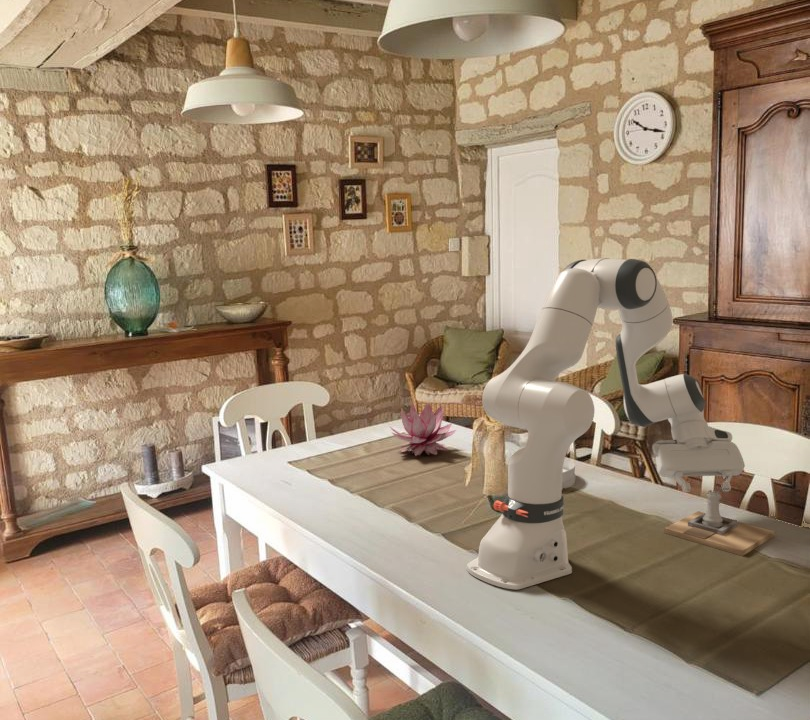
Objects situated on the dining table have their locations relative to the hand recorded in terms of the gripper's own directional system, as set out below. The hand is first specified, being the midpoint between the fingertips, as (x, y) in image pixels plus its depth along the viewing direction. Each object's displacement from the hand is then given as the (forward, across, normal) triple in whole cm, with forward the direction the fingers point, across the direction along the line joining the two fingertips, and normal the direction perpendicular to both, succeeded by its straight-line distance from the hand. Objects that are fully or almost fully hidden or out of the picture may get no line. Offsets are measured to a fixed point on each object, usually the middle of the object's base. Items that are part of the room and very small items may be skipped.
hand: (707, 490), depth 175 cm
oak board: (+10, 0, +1) cm, 11 cm away
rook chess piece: (+8, 0, +2) cm, 8 cm away
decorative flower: (-41, -65, +53) cm, 93 cm away
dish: (-20, -34, +32) cm, 51 cm away
